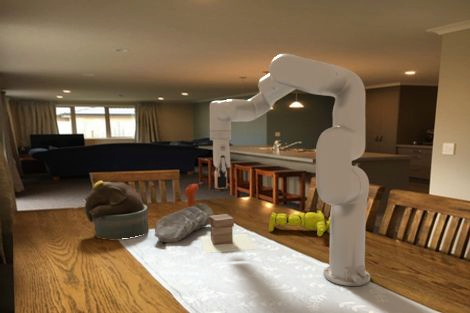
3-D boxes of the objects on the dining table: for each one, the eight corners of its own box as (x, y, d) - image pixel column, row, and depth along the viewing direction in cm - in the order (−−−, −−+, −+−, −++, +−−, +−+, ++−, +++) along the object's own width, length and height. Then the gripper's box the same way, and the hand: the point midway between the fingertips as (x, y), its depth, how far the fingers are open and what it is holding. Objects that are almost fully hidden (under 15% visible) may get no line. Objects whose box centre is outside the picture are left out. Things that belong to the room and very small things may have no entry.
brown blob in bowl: (72, 237, 143) (69, 182, 141) (119, 222, 165) (118, 174, 163) (115, 246, 132) (112, 186, 130) (159, 228, 154) (158, 177, 152)
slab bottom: (232, 243, 132) (232, 235, 131) (213, 244, 130) (213, 236, 130) (229, 237, 138) (229, 230, 138) (210, 239, 137) (210, 231, 137)
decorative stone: (186, 222, 164) (186, 200, 164) (217, 225, 159) (217, 202, 158) (144, 244, 135) (143, 217, 134) (180, 249, 129) (179, 221, 128)
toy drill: (207, 204, 193) (206, 177, 190) (193, 217, 176) (191, 187, 173) (199, 204, 195) (197, 176, 192) (183, 216, 177) (181, 187, 174)
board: (258, 251, 126) (258, 248, 126) (205, 255, 122) (205, 252, 122) (246, 235, 143) (246, 233, 143) (200, 238, 140) (200, 236, 140)
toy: (265, 240, 138) (347, 252, 132) (267, 216, 137) (350, 227, 131) (273, 220, 167) (341, 229, 161) (275, 200, 166) (343, 208, 160)
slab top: (233, 226, 132) (233, 218, 132) (215, 228, 129) (215, 220, 129) (226, 221, 138) (226, 214, 138) (209, 223, 136) (208, 215, 135)
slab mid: (232, 235, 131) (232, 227, 131) (213, 236, 130) (213, 228, 130) (229, 230, 138) (229, 222, 138) (210, 231, 137) (210, 223, 137)
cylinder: (228, 188, 131) (227, 171, 130) (215, 188, 130) (215, 171, 130) (225, 186, 135) (225, 170, 135) (214, 186, 134) (213, 170, 134)
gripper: (235, 136, 123) (235, 190, 125) (226, 135, 140) (227, 182, 142) (213, 136, 122) (213, 191, 124) (207, 135, 139) (207, 183, 140)
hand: (220, 186), depth 133 cm, fingers closed on cylinder, 4 cm apart
